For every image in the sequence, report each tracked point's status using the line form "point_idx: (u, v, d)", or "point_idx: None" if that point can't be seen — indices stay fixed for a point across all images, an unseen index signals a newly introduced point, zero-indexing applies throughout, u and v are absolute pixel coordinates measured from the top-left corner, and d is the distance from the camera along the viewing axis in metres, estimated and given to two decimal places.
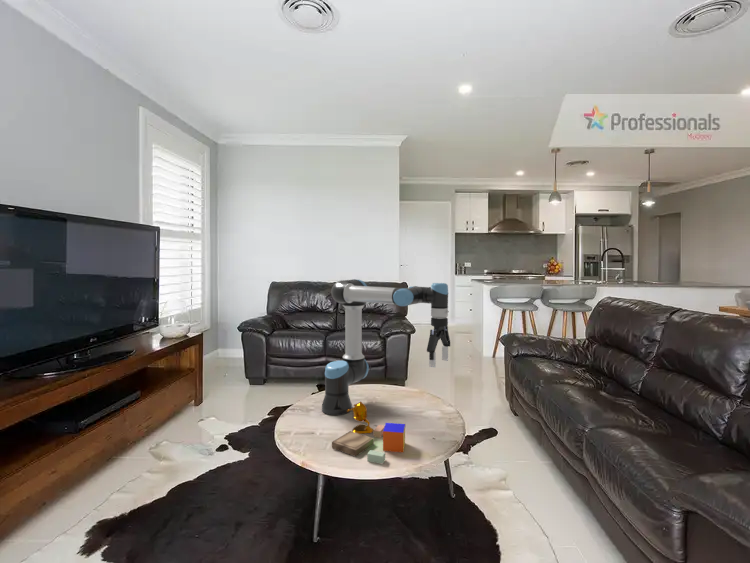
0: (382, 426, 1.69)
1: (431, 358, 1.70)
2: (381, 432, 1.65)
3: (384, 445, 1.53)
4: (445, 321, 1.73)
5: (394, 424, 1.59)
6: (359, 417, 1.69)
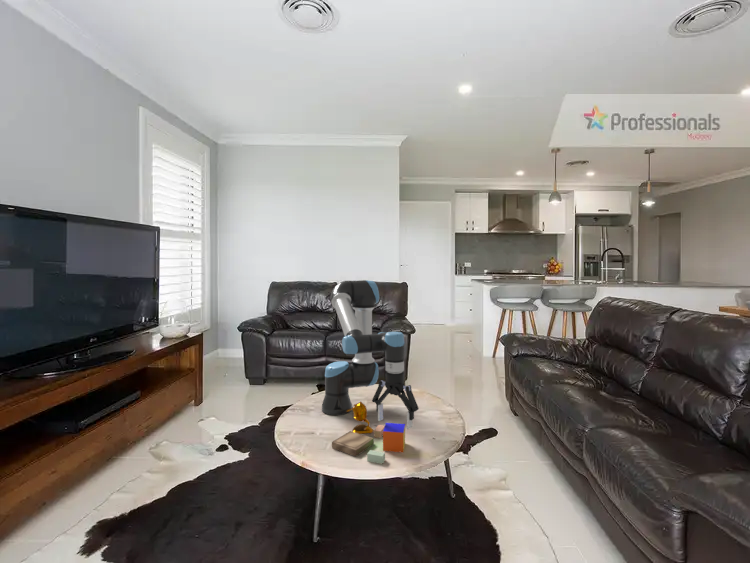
0: (382, 426, 1.69)
1: None
2: (381, 432, 1.65)
3: (384, 445, 1.53)
4: (387, 376, 1.53)
5: (394, 424, 1.59)
6: (359, 417, 1.69)
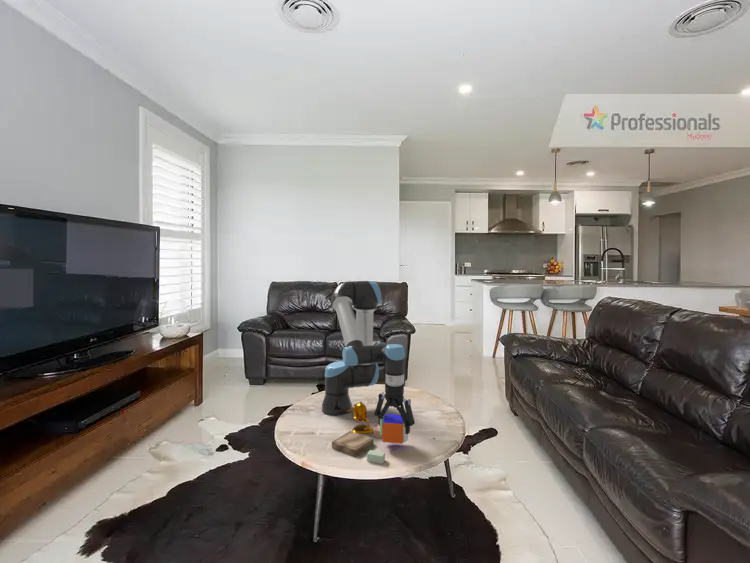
0: None
1: None
2: None
3: (384, 436, 1.53)
4: (387, 389, 1.53)
5: (394, 415, 1.59)
6: (359, 417, 1.69)
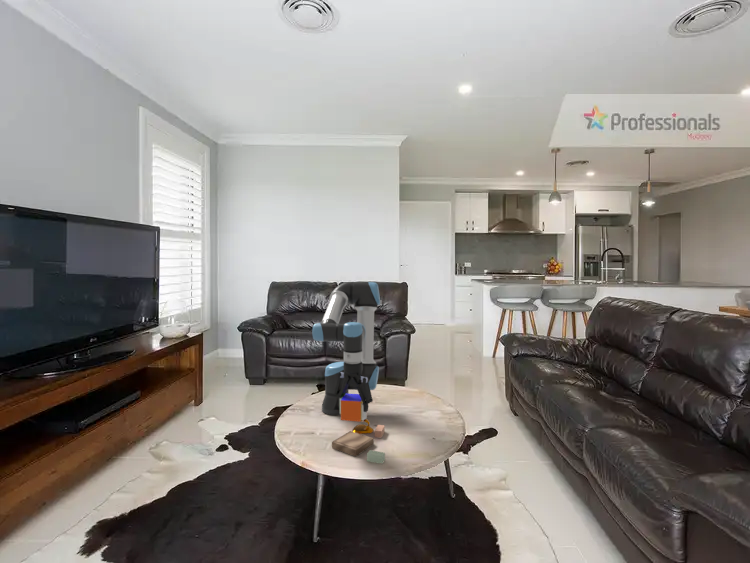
0: (381, 426, 1.69)
1: None
2: (382, 432, 1.66)
3: (342, 414, 1.53)
4: (345, 366, 1.53)
5: (353, 394, 1.59)
6: None
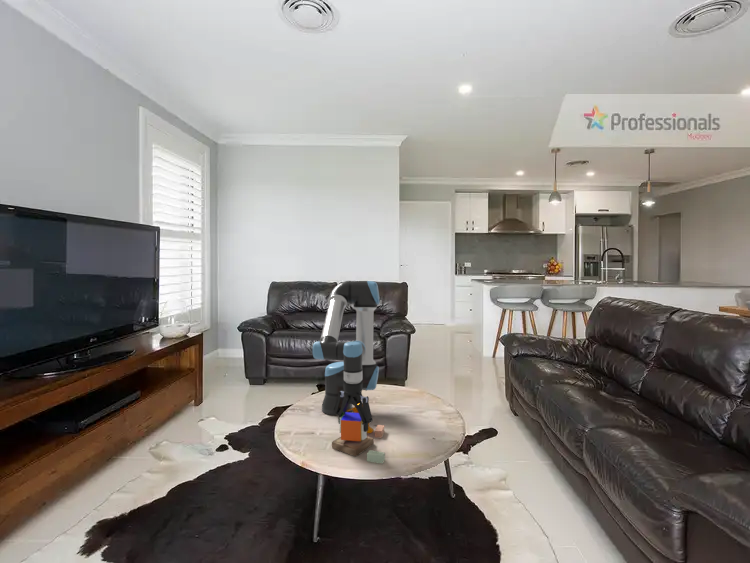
0: (381, 426, 1.69)
1: None
2: (382, 432, 1.66)
3: (342, 434, 1.53)
4: (345, 386, 1.53)
5: (353, 413, 1.59)
6: None
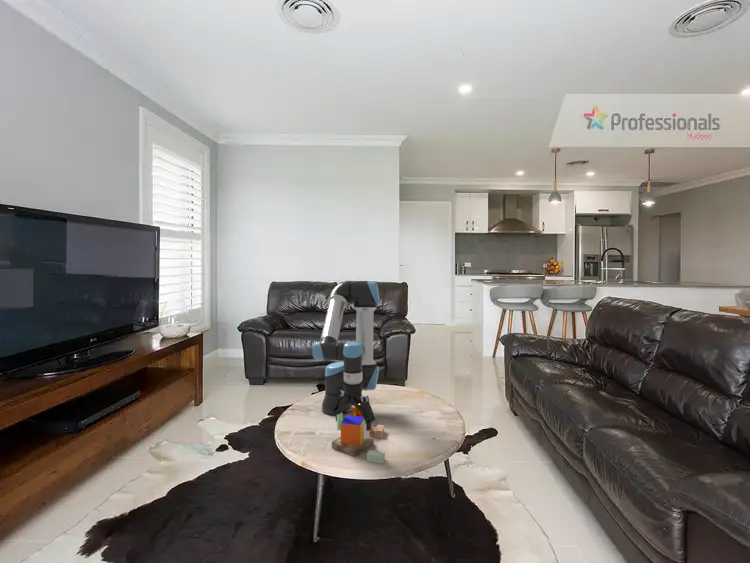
0: (381, 426, 1.69)
1: None
2: (382, 432, 1.66)
3: (342, 437, 1.53)
4: (345, 387, 1.53)
5: (354, 417, 1.59)
6: None
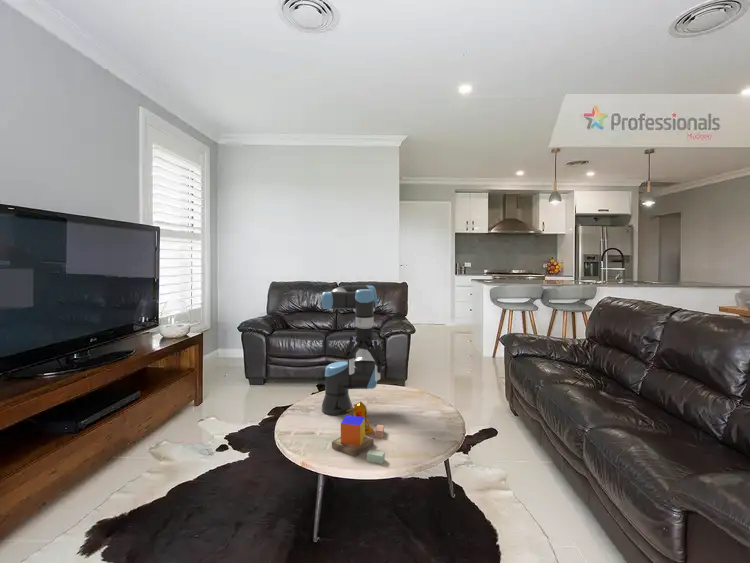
0: (381, 426, 1.69)
1: None
2: (382, 432, 1.66)
3: (342, 437, 1.53)
4: (356, 331, 1.59)
5: (354, 417, 1.59)
6: None
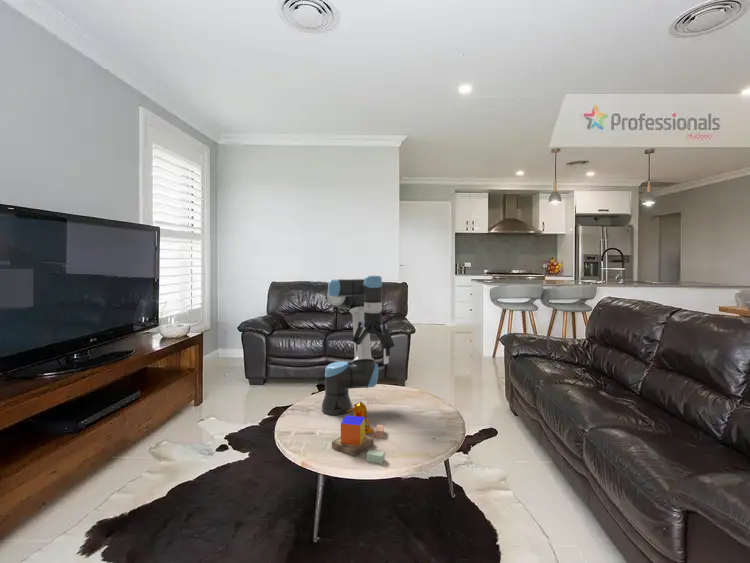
0: (381, 426, 1.69)
1: None
2: None
3: (342, 437, 1.53)
4: (365, 316, 1.63)
5: (354, 417, 1.59)
6: None
